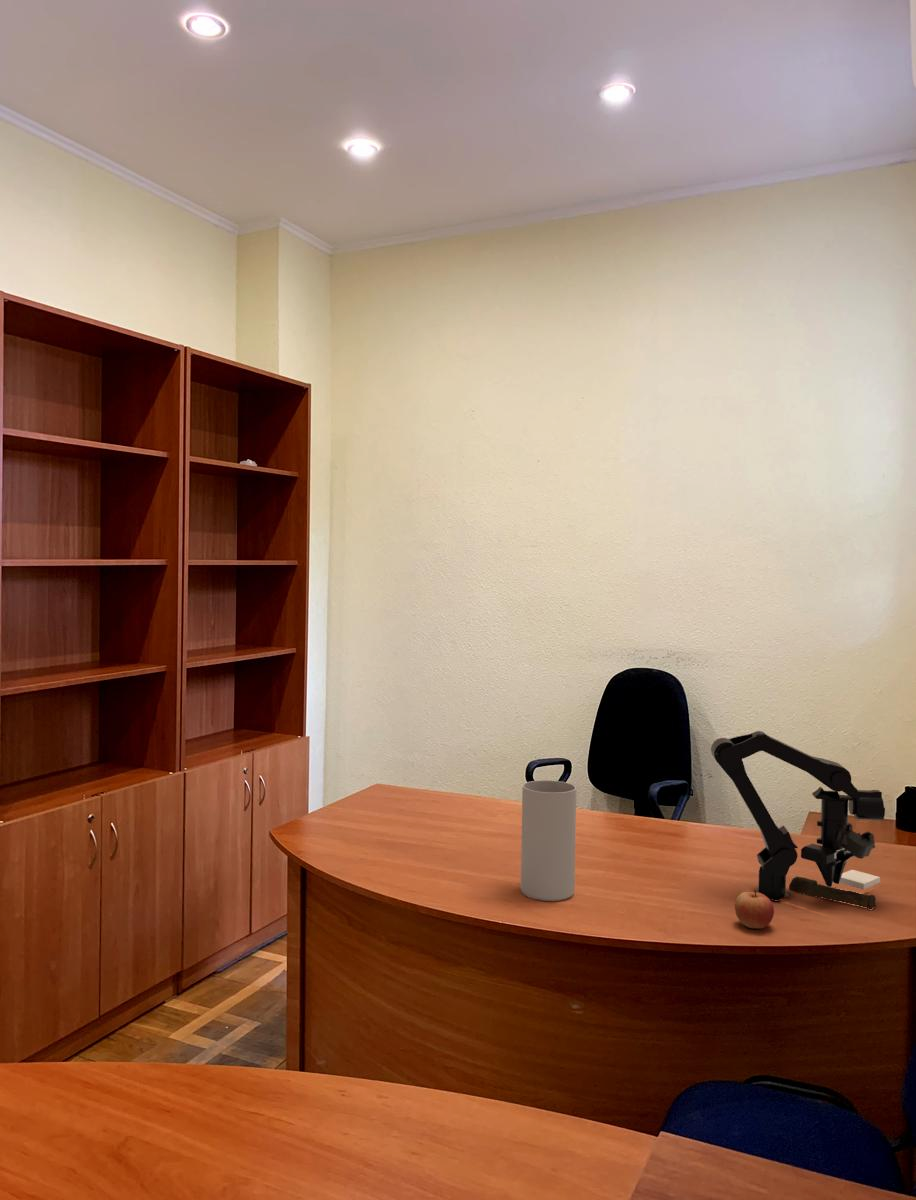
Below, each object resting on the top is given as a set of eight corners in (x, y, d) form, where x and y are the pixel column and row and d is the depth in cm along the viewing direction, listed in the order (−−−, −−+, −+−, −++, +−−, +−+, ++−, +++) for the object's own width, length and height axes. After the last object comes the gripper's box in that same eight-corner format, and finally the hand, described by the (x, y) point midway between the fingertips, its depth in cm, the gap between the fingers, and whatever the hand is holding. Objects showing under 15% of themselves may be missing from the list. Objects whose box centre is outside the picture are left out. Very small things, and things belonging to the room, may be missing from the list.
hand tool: (877, 911, 205) (877, 891, 205) (871, 916, 202) (872, 895, 202) (793, 891, 217) (794, 872, 217) (787, 895, 214) (787, 876, 214)
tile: (863, 883, 214) (880, 877, 219) (835, 875, 220) (852, 869, 225) (863, 891, 214) (879, 884, 219) (835, 883, 220) (851, 876, 225)
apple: (746, 916, 199) (747, 880, 199) (780, 927, 193) (781, 890, 193) (726, 925, 193) (727, 888, 193) (760, 936, 188) (761, 898, 187)
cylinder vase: (585, 894, 211) (587, 787, 210) (548, 906, 203) (550, 795, 202) (546, 880, 220) (548, 778, 220) (509, 891, 212) (511, 785, 211)
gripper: (847, 832, 197) (845, 903, 198) (888, 819, 209) (886, 886, 209) (800, 821, 206) (798, 889, 206) (841, 809, 218) (840, 873, 218)
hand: (832, 884), depth 210 cm, fingers open, 3 cm apart
